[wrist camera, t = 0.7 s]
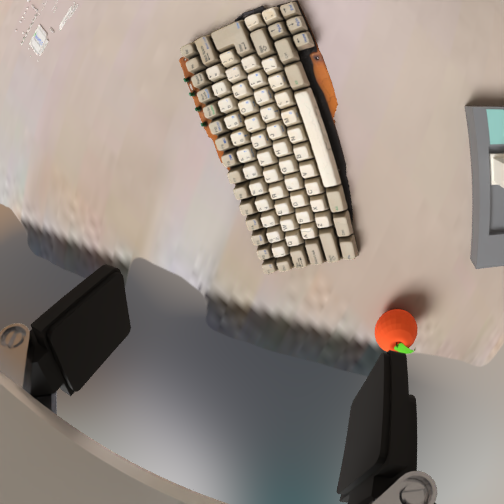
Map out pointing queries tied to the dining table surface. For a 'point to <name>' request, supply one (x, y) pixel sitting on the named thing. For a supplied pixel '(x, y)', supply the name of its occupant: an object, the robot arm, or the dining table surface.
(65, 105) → the dining table surface
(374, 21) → the dining table surface
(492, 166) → the tab
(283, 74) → the mechanical keyboard
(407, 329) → the clementine
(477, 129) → the switch panel
